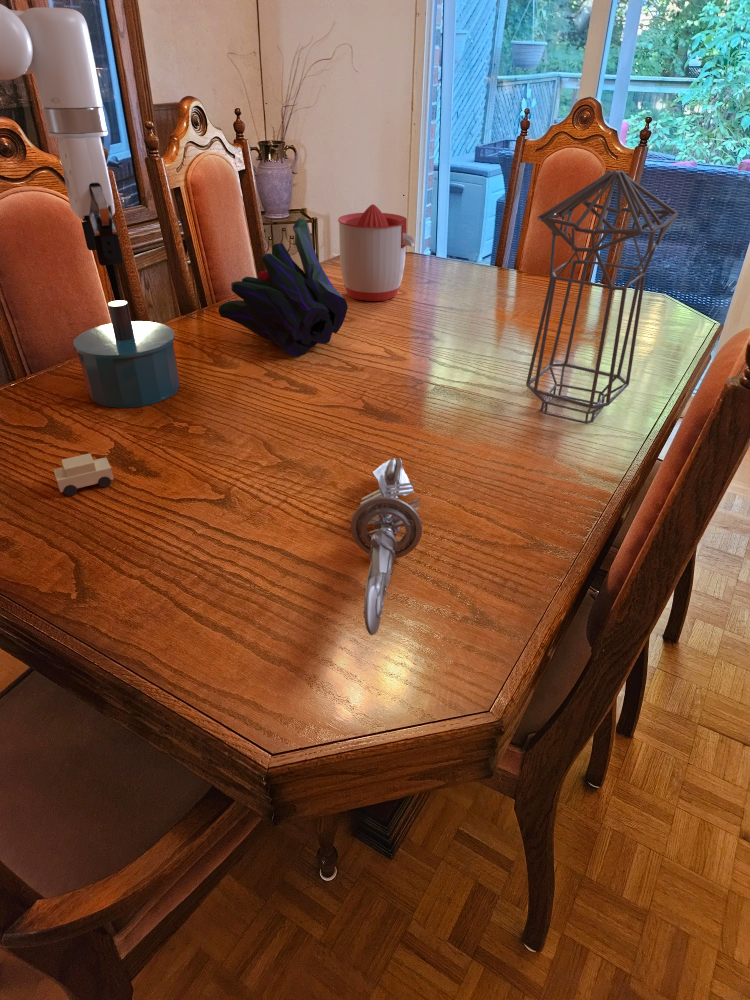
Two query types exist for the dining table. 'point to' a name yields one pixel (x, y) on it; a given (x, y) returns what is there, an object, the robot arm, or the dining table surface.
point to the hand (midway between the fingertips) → (104, 256)
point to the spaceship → (385, 534)
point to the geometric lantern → (549, 219)
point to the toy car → (82, 473)
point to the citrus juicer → (373, 253)
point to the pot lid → (123, 336)
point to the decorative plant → (289, 299)
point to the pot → (131, 378)
